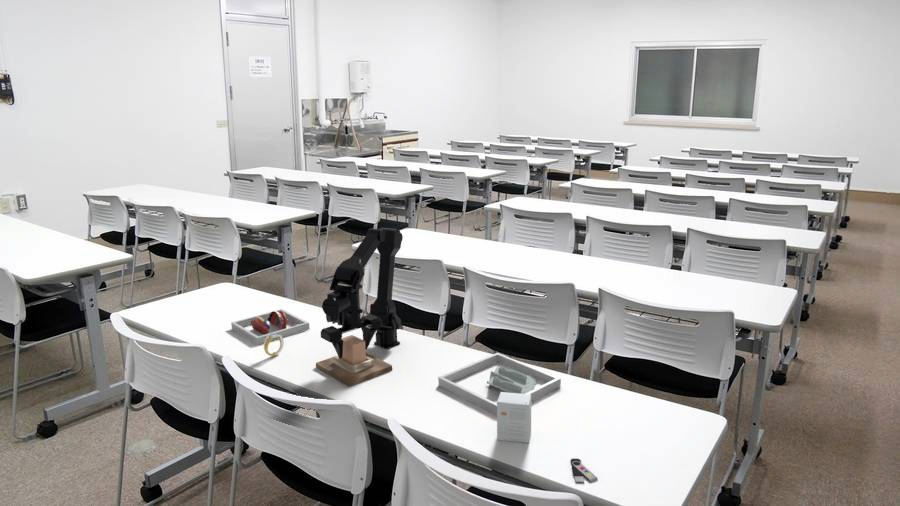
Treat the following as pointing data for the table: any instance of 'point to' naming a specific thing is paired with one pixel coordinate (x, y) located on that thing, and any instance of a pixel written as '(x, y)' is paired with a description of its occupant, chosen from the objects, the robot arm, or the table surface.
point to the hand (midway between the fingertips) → (353, 353)
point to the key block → (353, 350)
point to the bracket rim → (447, 379)
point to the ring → (266, 343)
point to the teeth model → (274, 318)
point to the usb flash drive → (581, 471)
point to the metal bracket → (511, 381)
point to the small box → (514, 417)
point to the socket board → (353, 369)
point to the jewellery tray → (258, 340)
